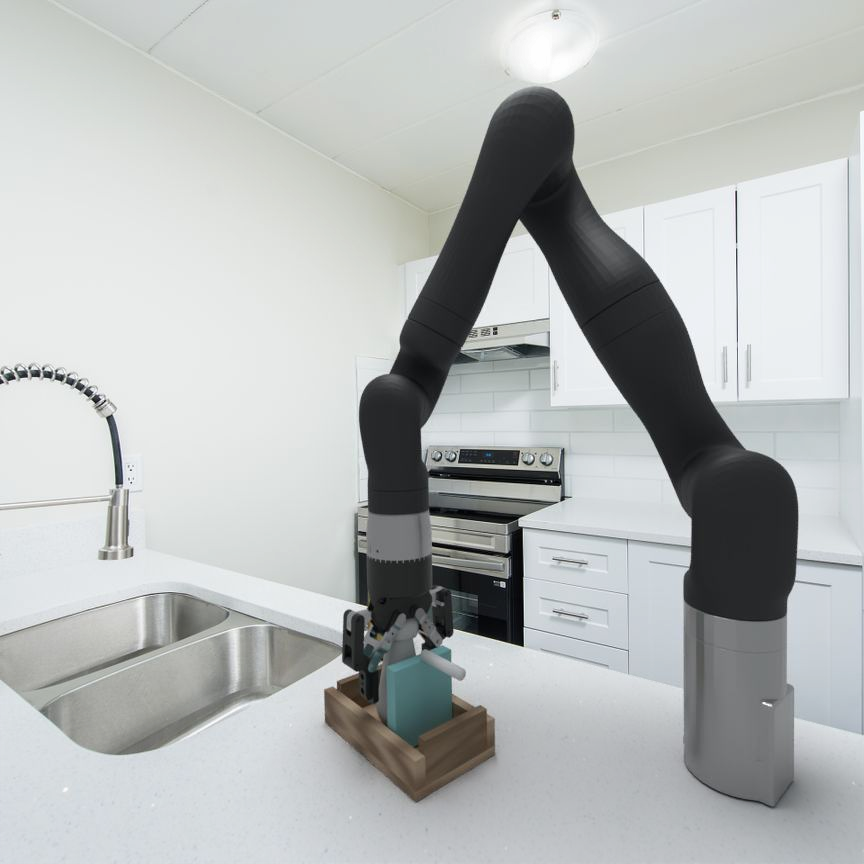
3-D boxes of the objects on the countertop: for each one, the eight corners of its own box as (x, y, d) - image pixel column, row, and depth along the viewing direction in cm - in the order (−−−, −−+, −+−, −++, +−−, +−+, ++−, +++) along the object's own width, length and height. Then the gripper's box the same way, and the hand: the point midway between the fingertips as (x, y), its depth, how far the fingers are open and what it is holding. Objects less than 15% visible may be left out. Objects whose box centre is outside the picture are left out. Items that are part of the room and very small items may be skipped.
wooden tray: (495, 754, 58) (494, 704, 58) (416, 802, 51) (415, 746, 51) (397, 690, 72) (396, 650, 72) (324, 721, 65) (323, 677, 65)
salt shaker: (420, 743, 58) (418, 627, 58) (370, 738, 60) (368, 624, 59) (430, 714, 64) (428, 608, 64) (384, 710, 65) (382, 605, 65)
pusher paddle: (490, 751, 56) (489, 656, 56) (432, 785, 51) (431, 682, 51) (443, 721, 62) (442, 635, 62) (387, 749, 57) (386, 655, 57)
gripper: (364, 568, 54) (367, 725, 54) (466, 544, 63) (468, 679, 63) (328, 554, 59) (331, 696, 60) (426, 534, 69) (428, 658, 69)
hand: (401, 687), depth 62 cm, fingers open, 8 cm apart
